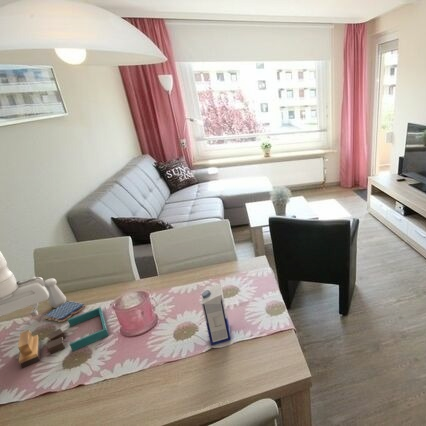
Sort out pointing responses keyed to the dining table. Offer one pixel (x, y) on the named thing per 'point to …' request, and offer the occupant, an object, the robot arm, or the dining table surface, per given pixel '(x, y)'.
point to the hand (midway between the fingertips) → (16, 322)
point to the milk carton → (215, 315)
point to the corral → (93, 336)
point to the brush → (29, 348)
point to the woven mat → (64, 311)
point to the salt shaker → (54, 293)
